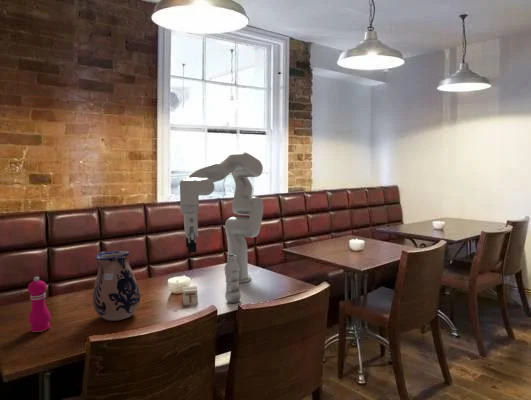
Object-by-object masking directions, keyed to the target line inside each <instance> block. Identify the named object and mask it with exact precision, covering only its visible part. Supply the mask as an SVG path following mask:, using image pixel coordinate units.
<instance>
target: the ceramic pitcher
mask: <svg viewBox="0 0 531 400" xmlns="http://www.w3.org/2000/svg"><path fill="white" fill-rule="evenodd" d="M130 253H131V252H130V251H123V250H120V251H119V250H118V251H117V250H115V251H100V252H98V253H97V254H96V255H95V256H94V259H95V260H96V262H97V269H98V270H97V274H96V279H95V281H94V285H93V286H94V287H93V291H92V305H93V309H94V310H95V311H96V313H97V314H98V315H99V317H101V318H102V319H104V320H105V321H115V322H116V321H121V320H124V319H125V320H126V319H128V318H130V317H132V315H134V313H135V312H136V311H137V310H138V307H139V306H140V302H141V291H140V287H139V283H138V282H137V279H136V276H135V274H134V272H133V270H132V267H131V265H130V262H129V255H130Z"/></svg>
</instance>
